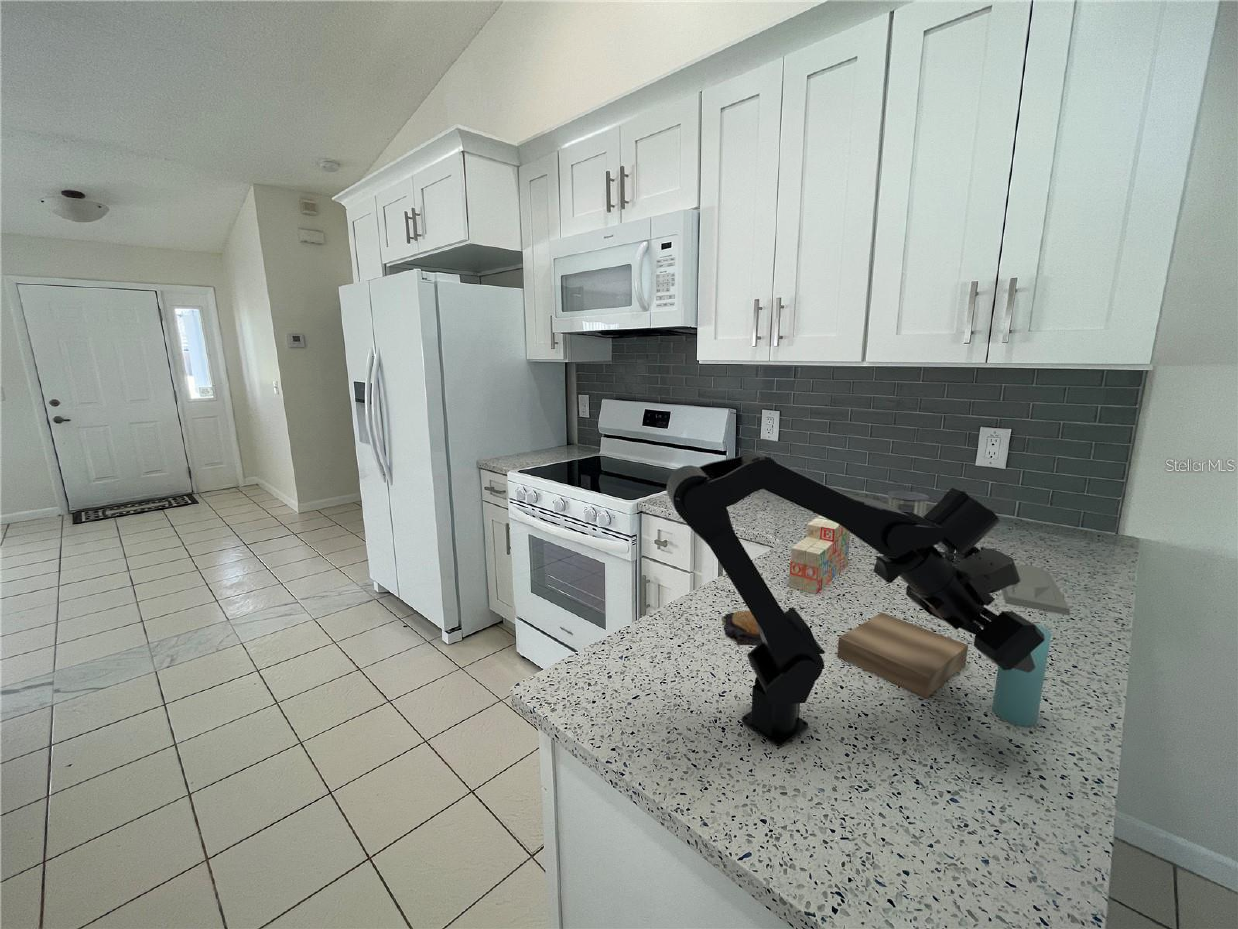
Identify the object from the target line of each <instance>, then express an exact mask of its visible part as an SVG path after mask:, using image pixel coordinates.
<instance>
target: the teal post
mask: <svg viewBox="0 0 1238 929" xmlns="http://www.w3.org/2000/svg"><path fill="white" fill-rule="evenodd" d="M1032 623H1033V624H1034V625H1036V626H1037V627H1038V628H1039V630H1040V631H1041V632H1042V633H1043V634H1044V638H1045V640H1044V641H1043V642H1042V643H1041V644H1040V645H1039V646H1038V647H1036V648H1035V649H1034V650H1033V651H1032V652H1031V656H1032V659H1033V662H1034V665H1035V669H1034V670H1032V671H1031V672H1030V673H1027V672H1024V671H1020V670H1017V669H1014V668H1012V669H1011V670H1002V669H1001V668H1000V667H998V666H997V672H996V680H995V686H994V694H993V699H992V700H993V701H992V708H991V709H992V711H993V712H994V714H995V715H996V716H997V717H998V718H1000V719H1001V720H1003V721H1005V722H1008V724H1009V723H1010V724H1012V725H1015V726H1019V727H1024V728H1029V727H1035V726H1036V725H1037V723H1038V718H1039V717H1038V716H1039V712H1040V705H1041V700H1042V695H1043V694H1042V693H1043V688H1044V683H1045V682H1044V681H1045V675H1046V668H1047V663H1048V657H1049V651H1050V645H1051V637H1052V633H1051V632H1050V630H1048V629H1047V628H1045V627H1043V625H1042V626H1041V625H1039V624H1037V623H1034V622H1032Z"/></svg>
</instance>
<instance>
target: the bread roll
mask: <svg viewBox="0 0 1238 929" xmlns="http://www.w3.org/2000/svg"><path fill="white" fill-rule="evenodd" d="M721 621H722V625H723V630H724V631H725V633H726V635H727V636H728V638H729V639H730V641H732V642H733V643H736V645H737V646H755V647H756V646H757V645H758V644H759V643H760V642H762V639H761V636H760V634H759V631H758V627H757V624H756V620H755V618H754V616H753V615H752V613H751V612H750V610H737V611H735V612H728V613H726V614H725V615H723V616H721Z"/></svg>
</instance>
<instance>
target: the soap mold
mask: <svg viewBox="0 0 1238 929" xmlns="http://www.w3.org/2000/svg"><path fill="white" fill-rule="evenodd" d="M1016 568H1017V571H1018V574H1019V577H1020V582H1019V583H1017V584H1015V585H1010V586H1008V587H1006V588H1004V589H1001V593H1002V596H1003V600H1004V604H1005V605H1007V604H1008V605H1011V606H1012V605H1013V606H1017V607H1023V608H1029V609H1033V610H1039V611H1046V612H1050V613H1056V614H1061V615H1067V616H1070V615H1071V614H1070V611H1071V610H1070V607H1069V606H1068V604H1067V601H1066V600H1065V597H1063V594H1062V593H1061V590H1060V589H1059V586H1057V583H1056V582H1055V580H1054V578H1053V576H1052V574H1051V573H1050V571H1049V570H1044V568H1042V567H1038V566H1033V565H1030V564H1018V565H1017V564H1016Z"/></svg>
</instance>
